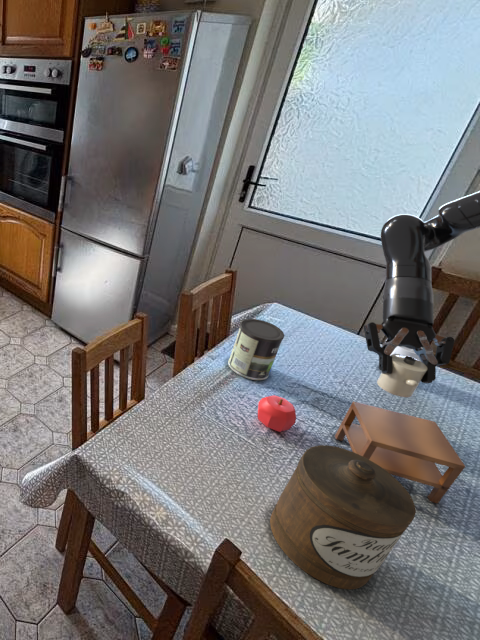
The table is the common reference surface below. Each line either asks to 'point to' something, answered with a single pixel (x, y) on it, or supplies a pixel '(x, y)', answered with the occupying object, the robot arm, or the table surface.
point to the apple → (276, 413)
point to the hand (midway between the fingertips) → (406, 377)
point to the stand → (402, 446)
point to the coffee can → (255, 349)
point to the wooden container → (340, 516)
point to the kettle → (403, 376)
